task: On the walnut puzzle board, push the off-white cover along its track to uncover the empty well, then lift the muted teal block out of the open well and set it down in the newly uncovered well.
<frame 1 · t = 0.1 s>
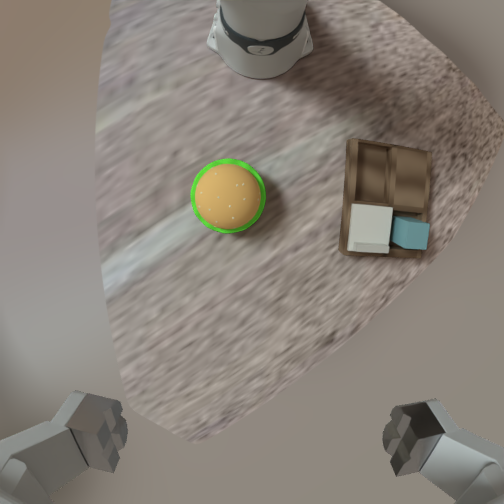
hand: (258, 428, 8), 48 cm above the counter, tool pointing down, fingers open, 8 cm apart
cover: (372, 229, 50), point 5 cm above the counter, slide at 0.0 cm
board: (383, 199, 54), on the counter
block: (400, 228, 54), point 1 cm above the counter, touching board
hamburger: (229, 194, 54), on the counter
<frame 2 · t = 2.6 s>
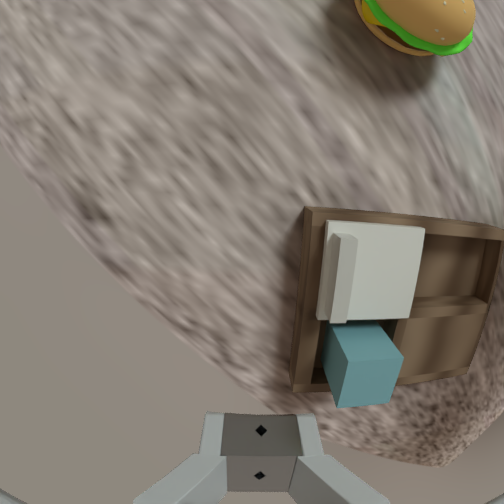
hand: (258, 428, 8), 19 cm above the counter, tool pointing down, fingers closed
cover: (376, 277, 22), point 5 cm above the counter, slide at 0.0 cm
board: (397, 297, 27), on the counter
block: (347, 339, 27), point 1 cm above the counter, touching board
hamburger: (398, 15, 21), on the counter
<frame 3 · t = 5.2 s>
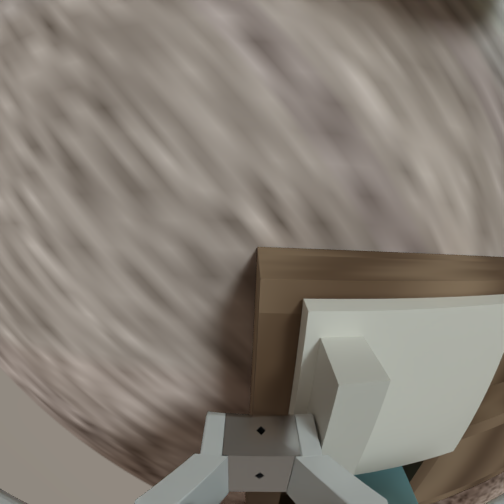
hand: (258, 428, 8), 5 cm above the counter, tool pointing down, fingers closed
cover: (414, 419, 8), point 5 cm above the counter, slide at 0.2 cm, touching gripper
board: (430, 395, 14), on the counter
block: (338, 463, 14), point 1 cm above the counter, touching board
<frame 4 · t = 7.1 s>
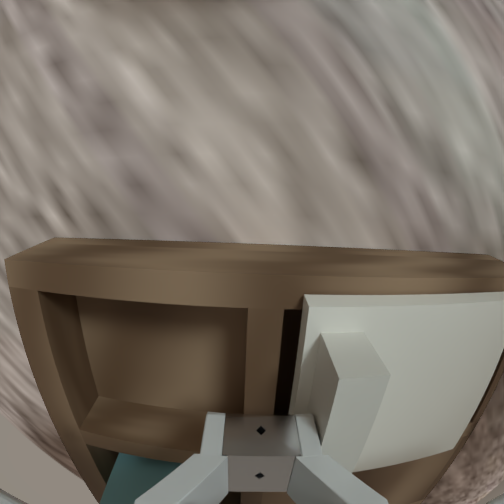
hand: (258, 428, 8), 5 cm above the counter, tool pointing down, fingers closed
cover: (414, 415, 8), point 5 cm above the counter, slide at 9.0 cm, touching gripper
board: (274, 407, 14), on the counter
block: (176, 460, 14), point 1 cm above the counter, touching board
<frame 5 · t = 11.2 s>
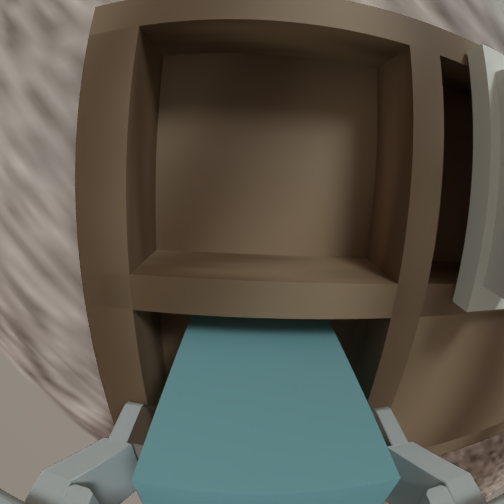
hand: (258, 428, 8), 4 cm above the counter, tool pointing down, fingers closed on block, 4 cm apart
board: (391, 265, 11), on the counter
block: (257, 365, 11), point 1 cm above the counter, touching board, gripper
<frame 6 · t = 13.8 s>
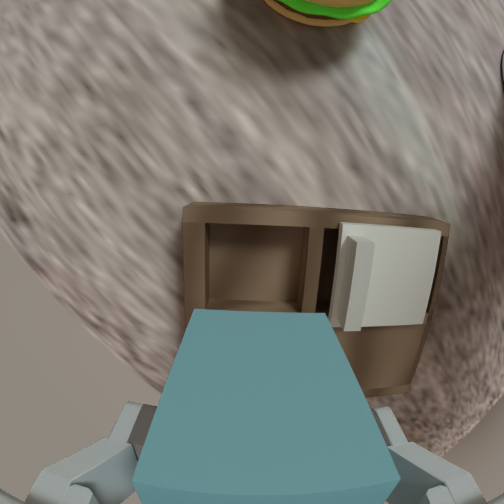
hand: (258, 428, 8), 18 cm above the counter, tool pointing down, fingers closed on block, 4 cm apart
cover: (392, 282, 20), point 5 cm above the counter, slide at 9.5 cm
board: (312, 302, 26), on the counter
block: (257, 365, 11), point 14 cm above the counter, touching gripper
when the fingers open (5 cm above the counter, at t = 16.3 s): block stays where it is, resting on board.
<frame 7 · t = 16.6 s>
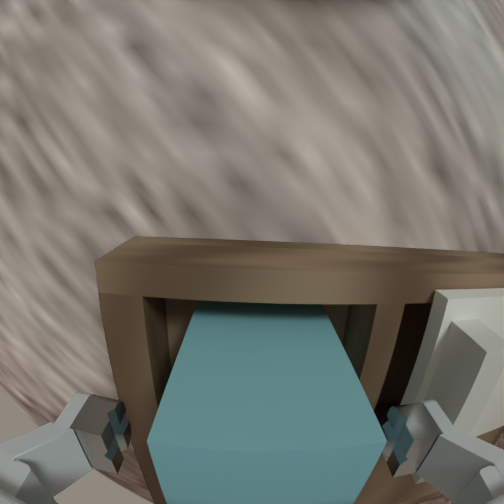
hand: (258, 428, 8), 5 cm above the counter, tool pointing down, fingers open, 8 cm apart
cover: (499, 388, 8), point 5 cm above the counter, slide at 9.5 cm
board: (350, 400, 14), on the counter
block: (257, 351, 12), point 1 cm above the counter, touching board
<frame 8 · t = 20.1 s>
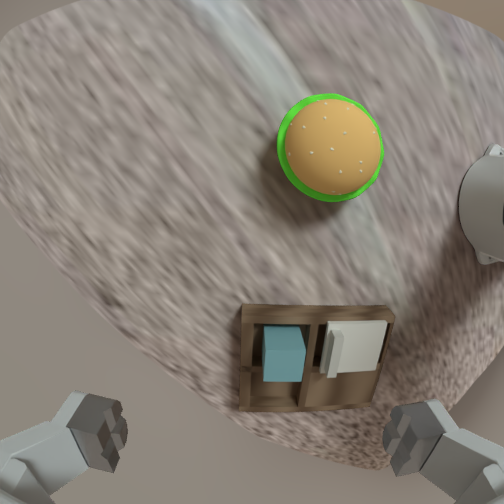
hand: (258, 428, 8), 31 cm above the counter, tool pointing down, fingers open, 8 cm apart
cover: (355, 351, 37), point 5 cm above the counter, slide at 9.5 cm
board: (310, 355, 43), on the counter
block: (279, 336, 41), point 1 cm above the counter, touching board
hamburger: (323, 149, 36), on the counter
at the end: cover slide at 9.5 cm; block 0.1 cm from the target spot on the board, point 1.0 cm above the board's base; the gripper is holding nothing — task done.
